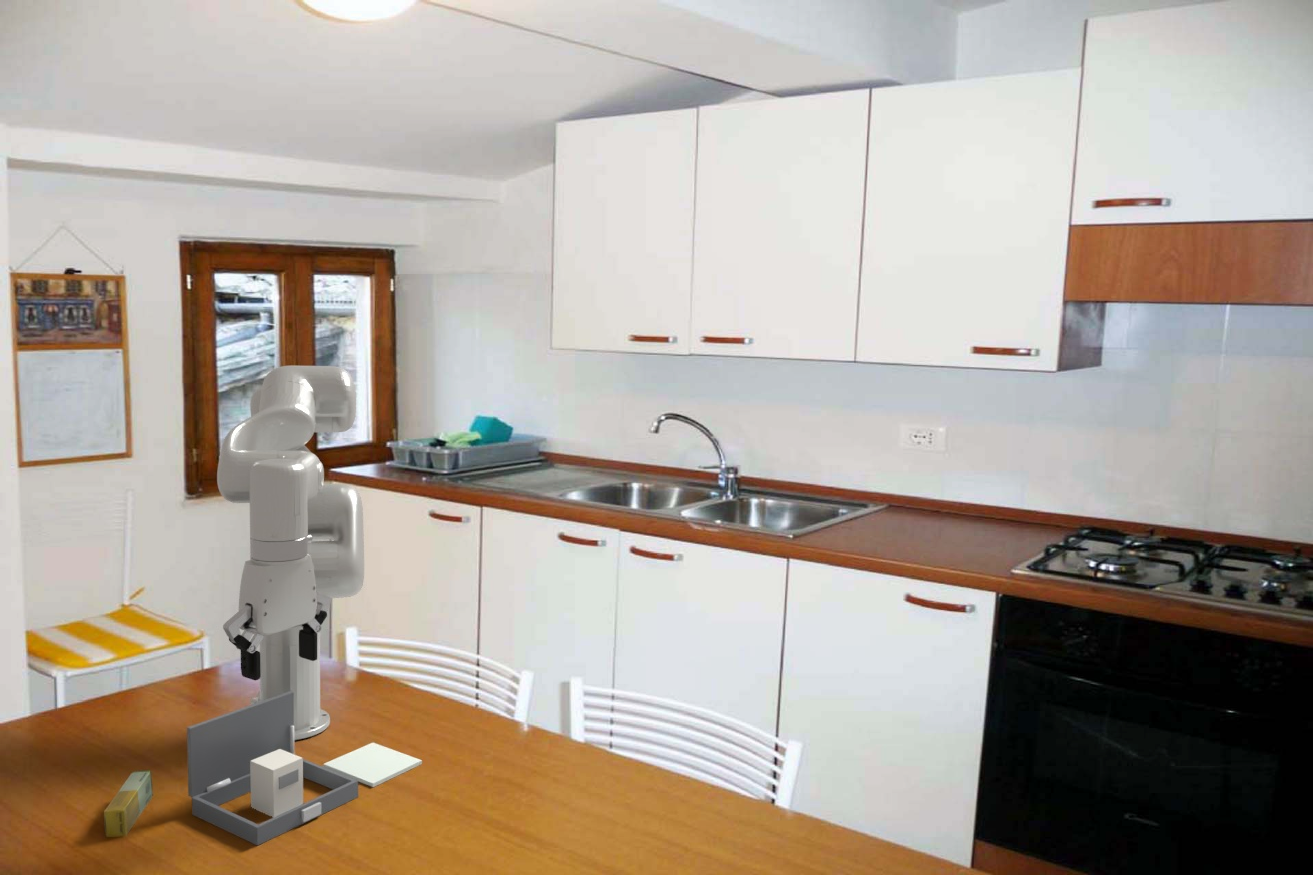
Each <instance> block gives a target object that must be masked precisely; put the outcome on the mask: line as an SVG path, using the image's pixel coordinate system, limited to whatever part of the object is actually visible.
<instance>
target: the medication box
mask: <svg viewBox="0 0 1313 875" xmlns="http://www.w3.org/2000/svg"><path fill="white" fill-rule="evenodd" d="M151 771H152V770H138V771H137V770H136V771H132V772H131V773H130V775H129V776H128V778H127V779H126V780H125V782H124V783H123V785H121V787H120V789H119V790H118V791H117V793H116V794H115V795H114V797H113V799H112V800H111V801H110V803H108V805H107V807H106V809H104V811H103V820H104V831H105V838H115V837H116V838H117V837H118V838H119V837H126V836H127V835H128V834H129V832H130V831H131V829H132V828H133V826H134V825H135V824H136V822H137V820H138V819H139V817H140V815H141V814H142V812H143V811H144V810H145V809H146V807H147V806H148V804H149V802H150V801H151V800H152V798H153V796H154V793H153V791H154V790H153V781H152V780H153V779H152V774H151V773H152V772H151Z"/></svg>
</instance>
